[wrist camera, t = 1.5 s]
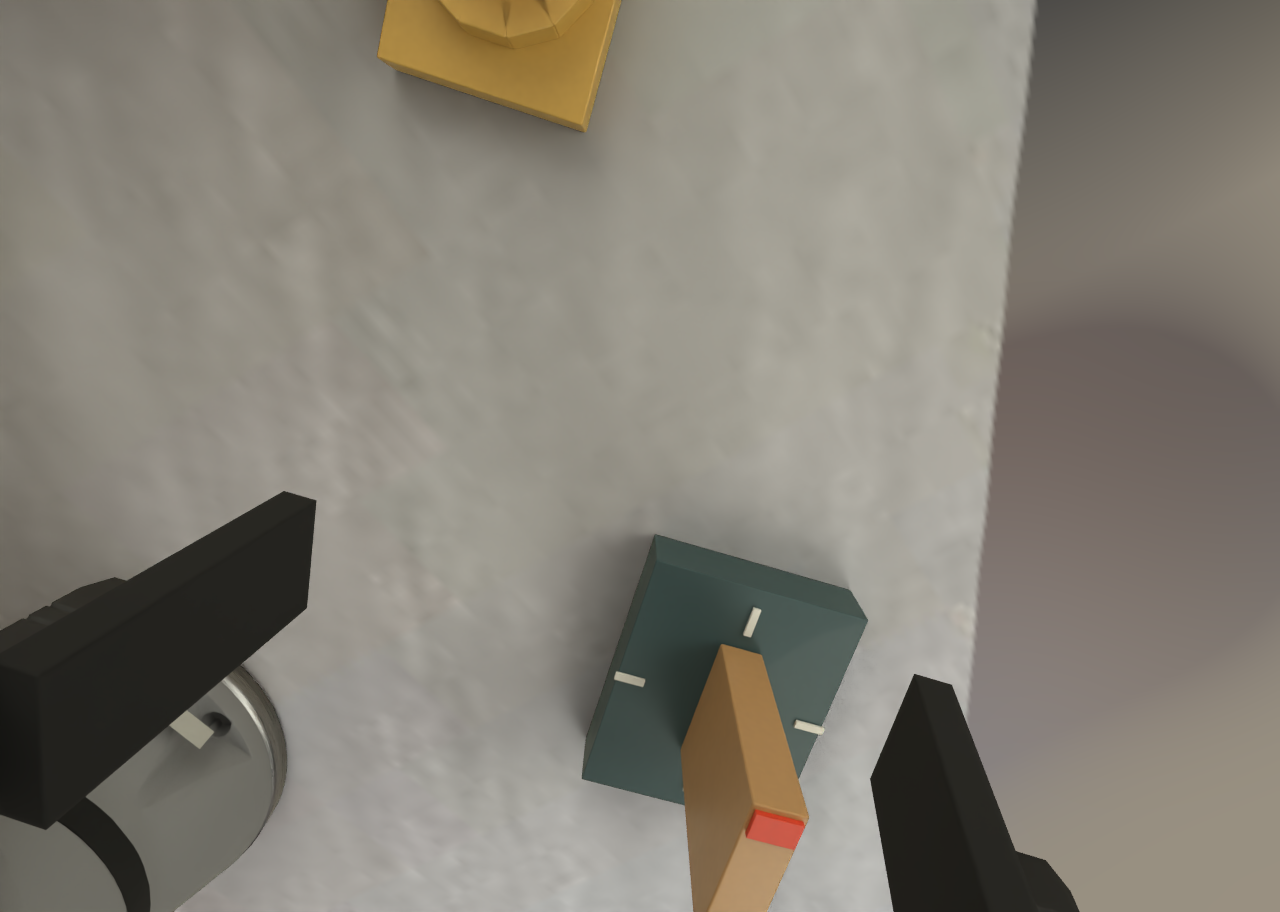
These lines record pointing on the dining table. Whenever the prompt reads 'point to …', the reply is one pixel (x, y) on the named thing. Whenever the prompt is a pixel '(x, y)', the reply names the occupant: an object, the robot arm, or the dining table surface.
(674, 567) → the panel
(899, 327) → the dining table surface
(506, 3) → the button box
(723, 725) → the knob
